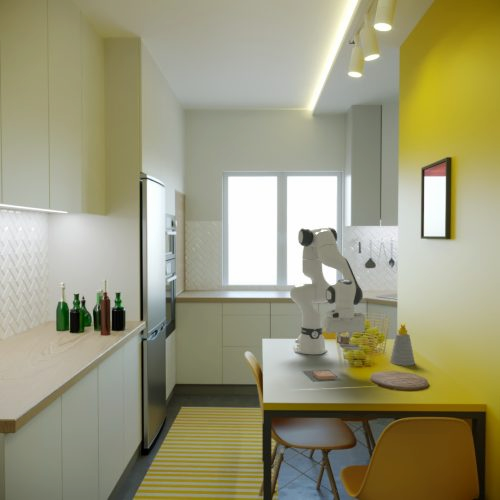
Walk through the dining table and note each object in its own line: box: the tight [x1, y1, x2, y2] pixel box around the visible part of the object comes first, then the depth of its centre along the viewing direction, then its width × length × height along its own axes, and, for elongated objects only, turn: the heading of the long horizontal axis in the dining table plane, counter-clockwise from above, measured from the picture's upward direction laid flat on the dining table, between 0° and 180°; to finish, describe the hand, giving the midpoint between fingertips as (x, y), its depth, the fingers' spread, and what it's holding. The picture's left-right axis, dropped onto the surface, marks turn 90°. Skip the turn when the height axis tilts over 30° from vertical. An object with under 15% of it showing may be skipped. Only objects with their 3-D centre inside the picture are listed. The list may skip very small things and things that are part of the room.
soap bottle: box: [389, 323, 416, 367], centre depth 252 cm, size 12×12×20 cm
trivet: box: [369, 370, 429, 392], centre depth 217 cm, size 25×25×2 cm
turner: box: [336, 333, 362, 351], centre depth 231 cm, size 18×7×4 cm, turn 11°
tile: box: [313, 370, 336, 380], centre depth 221 cm, size 2×8×8 cm
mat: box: [301, 369, 344, 383], centre depth 224 cm, size 18×14×1 cm
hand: (344, 341), depth 234 cm, fingers closed on turner, 3 cm apart
